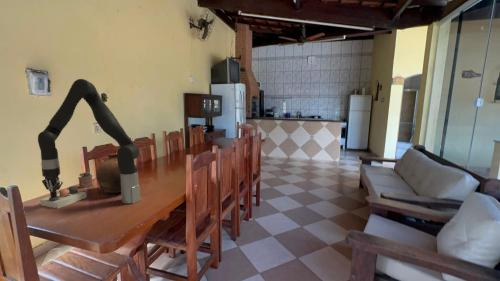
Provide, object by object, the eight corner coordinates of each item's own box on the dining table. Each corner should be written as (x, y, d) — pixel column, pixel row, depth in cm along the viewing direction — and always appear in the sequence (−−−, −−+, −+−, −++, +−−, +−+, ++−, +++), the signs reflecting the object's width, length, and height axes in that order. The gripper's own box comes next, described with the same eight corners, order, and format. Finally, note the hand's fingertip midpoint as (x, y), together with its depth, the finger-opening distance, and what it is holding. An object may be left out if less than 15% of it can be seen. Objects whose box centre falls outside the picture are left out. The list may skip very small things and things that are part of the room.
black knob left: (60, 201, 135) (60, 196, 135) (53, 204, 131) (52, 199, 131) (55, 200, 136) (55, 195, 136) (47, 203, 133) (47, 198, 132)
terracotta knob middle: (70, 194, 140) (69, 189, 140) (63, 197, 136) (62, 191, 136) (65, 193, 141) (64, 188, 141) (57, 196, 137) (57, 190, 137)
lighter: (91, 184, 167) (90, 170, 165) (93, 185, 165) (92, 171, 163) (78, 188, 160) (77, 173, 158) (80, 189, 158) (79, 174, 157)
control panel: (86, 197, 145) (86, 192, 145) (57, 208, 130) (57, 203, 129) (70, 194, 149) (70, 189, 148) (40, 204, 133) (40, 199, 133)
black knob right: (79, 191, 145) (78, 186, 145) (72, 193, 141) (72, 188, 141) (74, 190, 146) (73, 185, 146) (67, 192, 143) (67, 187, 142)
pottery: (121, 199, 144) (119, 158, 140) (88, 195, 148) (85, 155, 145) (145, 186, 166) (143, 151, 162) (115, 183, 170) (113, 148, 167)
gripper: (66, 166, 132) (69, 196, 135) (49, 164, 136) (52, 193, 139) (52, 169, 125) (55, 201, 128) (34, 167, 129) (37, 198, 132)
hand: (53, 197), depth 133 cm, fingers closed
